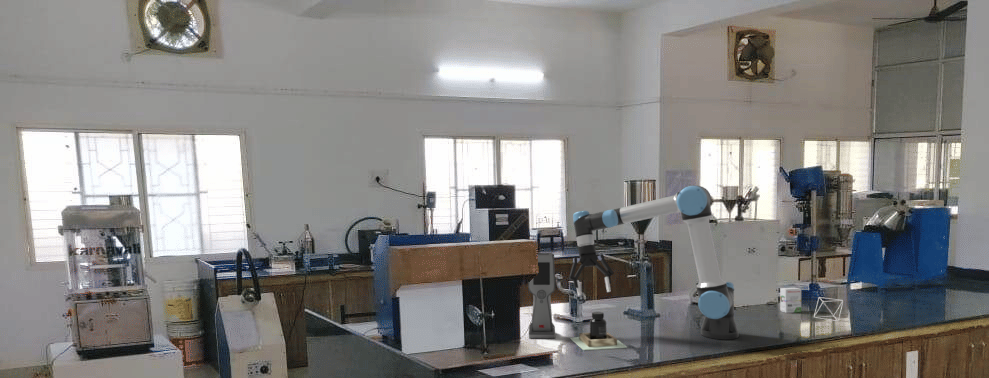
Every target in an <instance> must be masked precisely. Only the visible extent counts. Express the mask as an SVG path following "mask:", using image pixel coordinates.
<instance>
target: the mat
mask: <svg viewBox="0 0 989 378" xmlns="http://www.w3.org/2000/svg"><path fill="white" fill-rule="evenodd" d="M569 338H570V340H571V341H572V343H573V342H574V343H575V344H576V345H577V346H578V347H579V348H580V349H581V350H583V351H595V350H596V351H597V350H600V351H601V350H611V349H612V350H613V349H628V346H627V345H625V344H624V343H622V342H621V341H620V340H618V339H617V345H612V346H596V347H588V346H587V345H586V344H585V343H583V342H582V341H581V340H580V339H579V336H577V337H576V336H575V337H569Z"/></svg>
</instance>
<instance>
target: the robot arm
mask: <svg viewBox="0 0 989 378" xmlns="http://www.w3.org/2000/svg"><path fill="white" fill-rule="evenodd" d="M711 204H712V196H711V193H710V192H709V191H708V189H707V188H705V187H704V186H701V185H689V186H686V187H684V188H683V189H681V190H680V191H678V192H676V194H673V195H670V196H666V197H662V198H658V199H654V200H649V201H644V202H640V203H636V204H630V205H627V206H624V207H623V206H622V207H618V208H614V209H607V210H603V211H599V212H598V211H597V212H595V213H590V212H589V211H588V210H582V211H576V212H574V213H573V214H572V219H573V226H574V231H575V238H576V243H577V247H578V248H577V250H578V256H579V257H574V258H572V266H571V268H570V272H569V276H568V280H569V281H572V282H573V288H574V289H576V292H577V297H580V296H582V292H581V291H582V289H581V285H580V280H579V277H580V275H581V273H582V272H583V271H584V268H589V267H595V268H596V269H597V270H599V271H600V272H601V273H602V274H603V275H604V276H605V277H604V283H605V288H606V293H610V292H611V284H612V279H611V276H613V275H614V274H615V273H614V271H613V269H612V267H611V266H610V265H609V263H608V262H607V261H606V259H605V256H604V254H601V255H598V254H597V251H596V246H595V239H594V234H593V232H595V231H598V230H604V229H608V228H609V229H610V228H613V227H617V226H621V225H622V226H623V225H626V224H629V223H634V222H635V223H636V222H638V221H644V220H648V219H649V220H650V219H654V218H658V217H662V216H667V215H673V214H677V213H680V214H681V220H682V222H683V223H685V224H686V225H687V229H688V233H689V234H688V235H689V238H690V244H691V248H692V252H693V253H692V254H693V259H694V264H695V267H696V272H697V276H698V283H697V284H696V291H697V295H698V300H697V302H698V303H697V305H698V310H699V311H700V312H701V314H702V315H703V316H704V318H703V321H702V324H701V327H700V335H701V336H703V337H705V338H710V339H714V340H734V339H735V340H736V339H737V338H739V329H738V326H737V323H736V320H735V301H734V300H735V286H734V283H733V282H730V281H725V280H724V279H723V278H722V275H721V272H720V266H719V262H718V257H717V251H716V247H715V244H714V238H713V233H712V229H711V224H710V219H711V217H712V216H713V214H712V211H711ZM598 260H599V261H600V262H601V264H600V263H599V262H598ZM579 262H580V263H581V264H580V265H579V268H578V269H577V266H578V265H577V264H578V263H579ZM576 269H577V271H576Z"/></svg>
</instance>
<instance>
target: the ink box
mask: <svg viewBox="0 0 989 378" xmlns="http://www.w3.org/2000/svg"><path fill="white" fill-rule="evenodd" d="M779 289H780V290H779V291H780V292H779V296H780V297H779V300H780V301H779V302H780V303H779V304H780V305H779V307H780V312H782V313H785V314H791V313H801V312H802V289H801V288H799V287H798V288H797V287H780V288H779Z"/></svg>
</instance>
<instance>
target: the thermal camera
mask: <svg viewBox="0 0 989 378" xmlns="http://www.w3.org/2000/svg"><path fill="white" fill-rule="evenodd" d="M537 253H538V266H539V273H538V275H537V276H535V277H534V278H533V279H532V280H531V281H530V282H528V281H527V288H528V291H529V293H530V294H532V297H533V299H532V301H533V302H532V313H531V314H532V315H531V318H532V319H531V323H530V324H529V326H528V339H533V338H536V339H539V340H540V339H541V340H544V339H546V340H549V339H551V340H552V339H554V340H555V339H556V326H555V324H554V323H553V315H552V313H553V311H552V304H551V302H552V301H551V295H552V294H553V293H554V292H555V290H556V275H555V274H556V273H555V271H556V270H555V254H554V253H552V252H537Z"/></svg>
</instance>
